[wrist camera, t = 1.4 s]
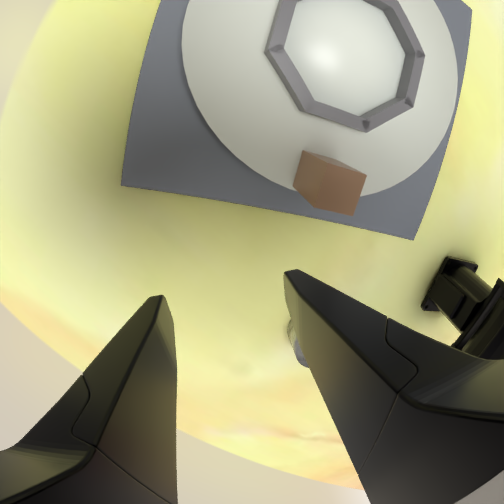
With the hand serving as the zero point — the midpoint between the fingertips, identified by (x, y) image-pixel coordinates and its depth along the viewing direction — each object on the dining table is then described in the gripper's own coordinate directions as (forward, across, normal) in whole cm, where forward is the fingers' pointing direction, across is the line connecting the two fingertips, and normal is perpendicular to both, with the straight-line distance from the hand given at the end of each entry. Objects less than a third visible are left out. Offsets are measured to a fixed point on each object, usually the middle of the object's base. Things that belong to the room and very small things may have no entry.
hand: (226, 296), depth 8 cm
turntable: (+12, -10, -9) cm, 18 cm away
